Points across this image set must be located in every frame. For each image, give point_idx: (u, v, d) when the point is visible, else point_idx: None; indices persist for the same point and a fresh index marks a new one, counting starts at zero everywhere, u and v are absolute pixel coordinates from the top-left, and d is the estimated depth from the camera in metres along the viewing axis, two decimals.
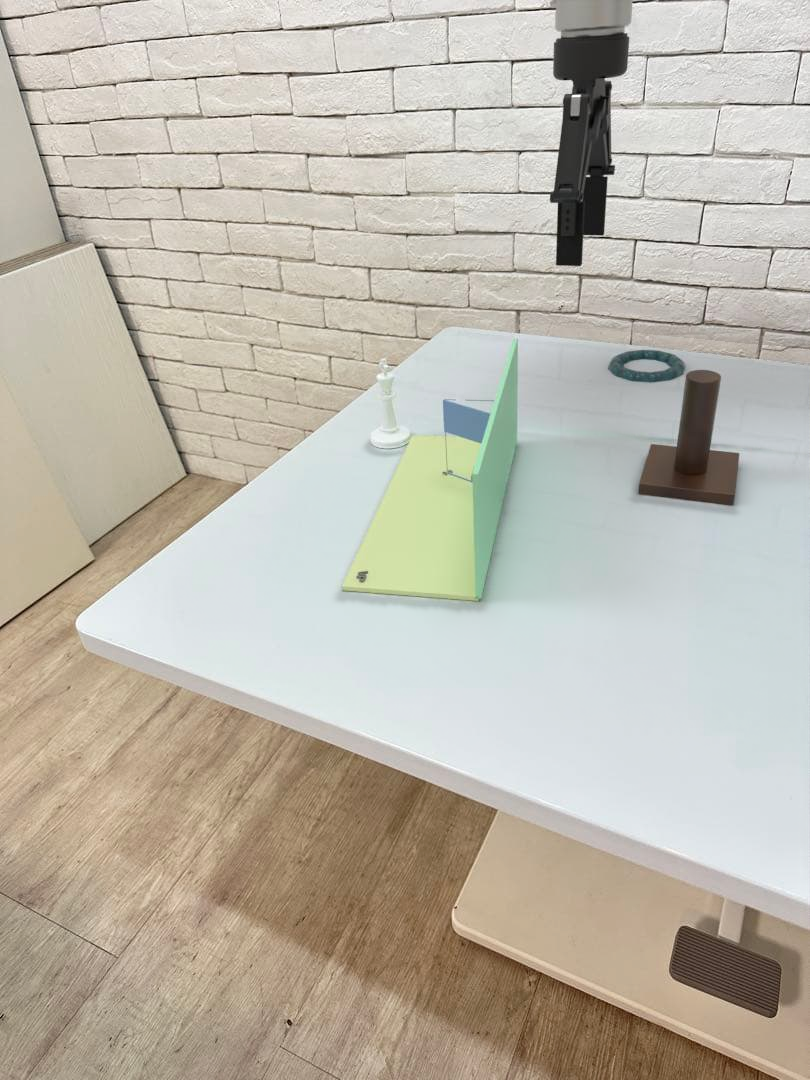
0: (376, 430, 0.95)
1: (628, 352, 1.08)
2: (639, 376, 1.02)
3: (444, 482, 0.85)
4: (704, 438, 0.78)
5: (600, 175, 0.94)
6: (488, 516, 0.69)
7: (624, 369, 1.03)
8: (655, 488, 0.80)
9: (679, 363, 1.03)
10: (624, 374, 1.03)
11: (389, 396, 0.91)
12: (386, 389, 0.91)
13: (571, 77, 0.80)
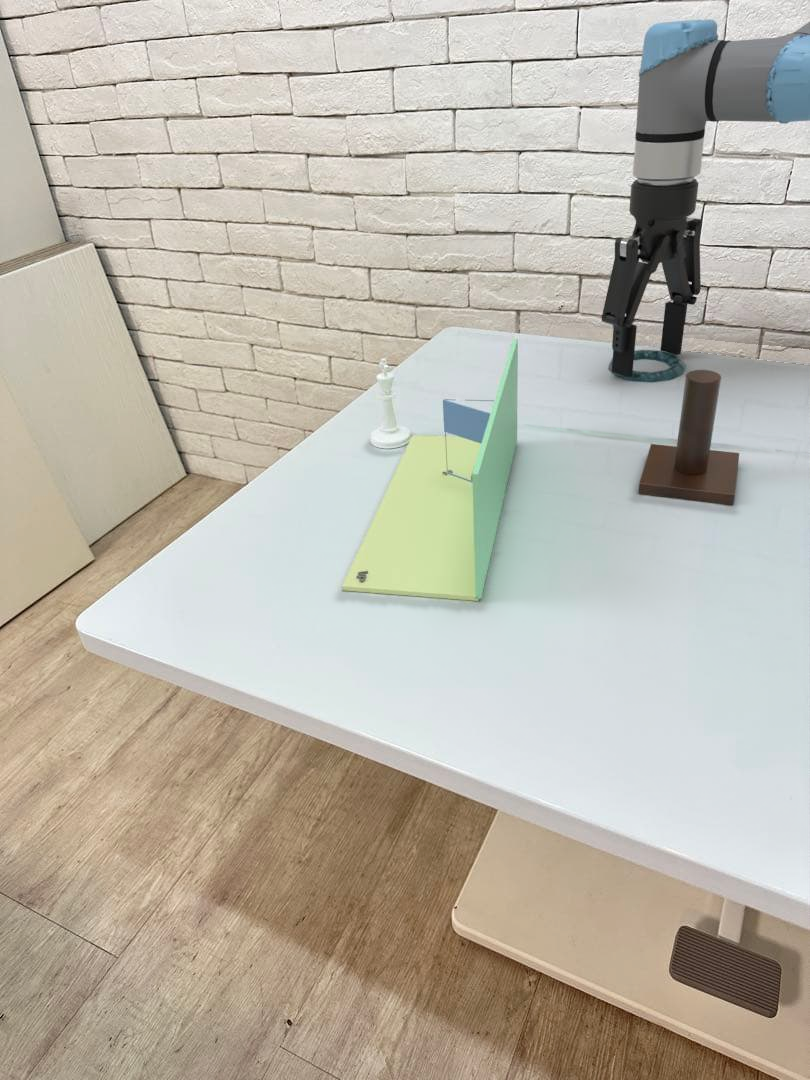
0: (376, 430, 0.95)
1: None
2: (639, 376, 1.02)
3: (444, 482, 0.85)
4: (704, 438, 0.78)
5: (681, 303, 1.04)
6: (488, 516, 0.69)
7: None
8: (655, 488, 0.80)
9: (679, 363, 1.03)
10: None
11: (389, 396, 0.91)
12: (386, 389, 0.91)
13: (634, 215, 0.94)
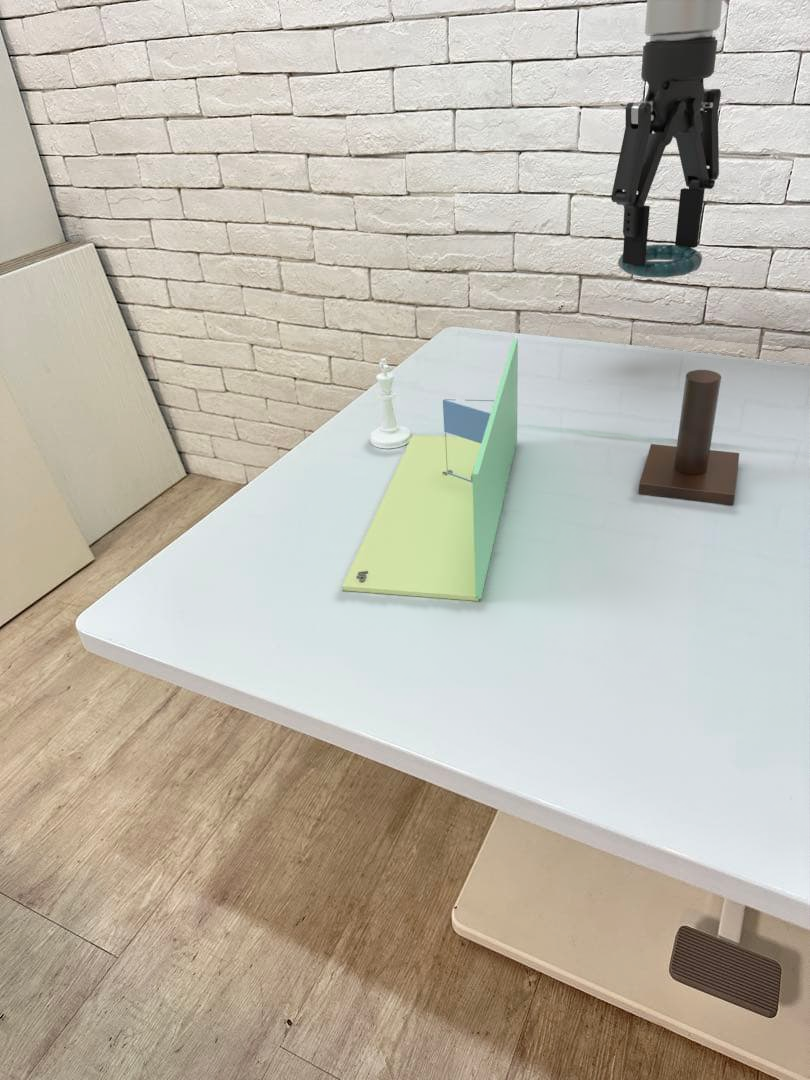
0: (376, 430, 0.95)
1: None
2: (652, 265, 0.93)
3: (444, 482, 0.85)
4: (704, 438, 0.78)
5: (697, 188, 0.95)
6: (488, 516, 0.69)
7: None
8: (655, 488, 0.80)
9: (696, 253, 0.95)
10: None
11: (389, 396, 0.91)
12: (386, 389, 0.91)
13: (647, 79, 0.85)
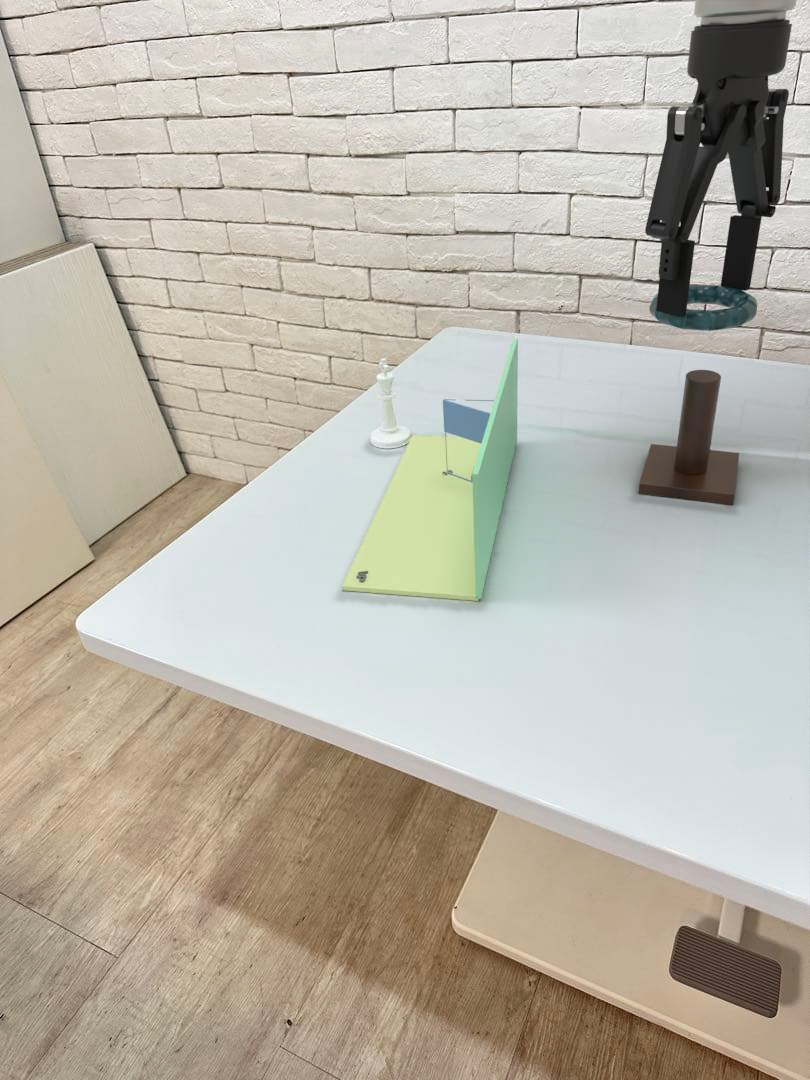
0: (376, 430, 0.95)
1: None
2: (695, 316, 0.73)
3: (444, 482, 0.85)
4: (704, 438, 0.78)
5: (753, 216, 0.74)
6: (488, 516, 0.69)
7: None
8: (655, 488, 0.80)
9: (750, 299, 0.74)
10: None
11: (389, 396, 0.91)
12: (386, 389, 0.91)
13: (696, 75, 0.65)
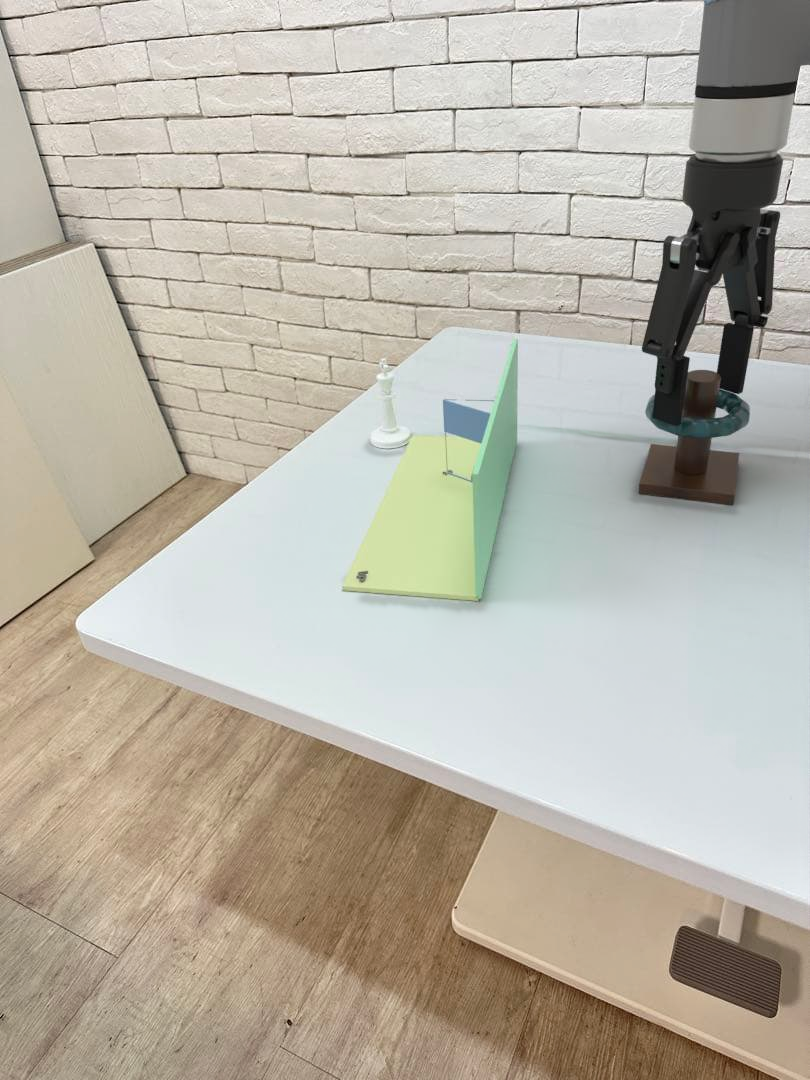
0: (376, 430, 0.95)
1: None
2: (690, 425, 0.75)
3: (444, 482, 0.85)
4: None
5: (745, 325, 0.77)
6: (488, 516, 0.69)
7: None
8: (655, 488, 0.80)
9: (743, 406, 0.77)
10: None
11: (389, 396, 0.91)
12: (386, 389, 0.91)
13: (691, 205, 0.67)
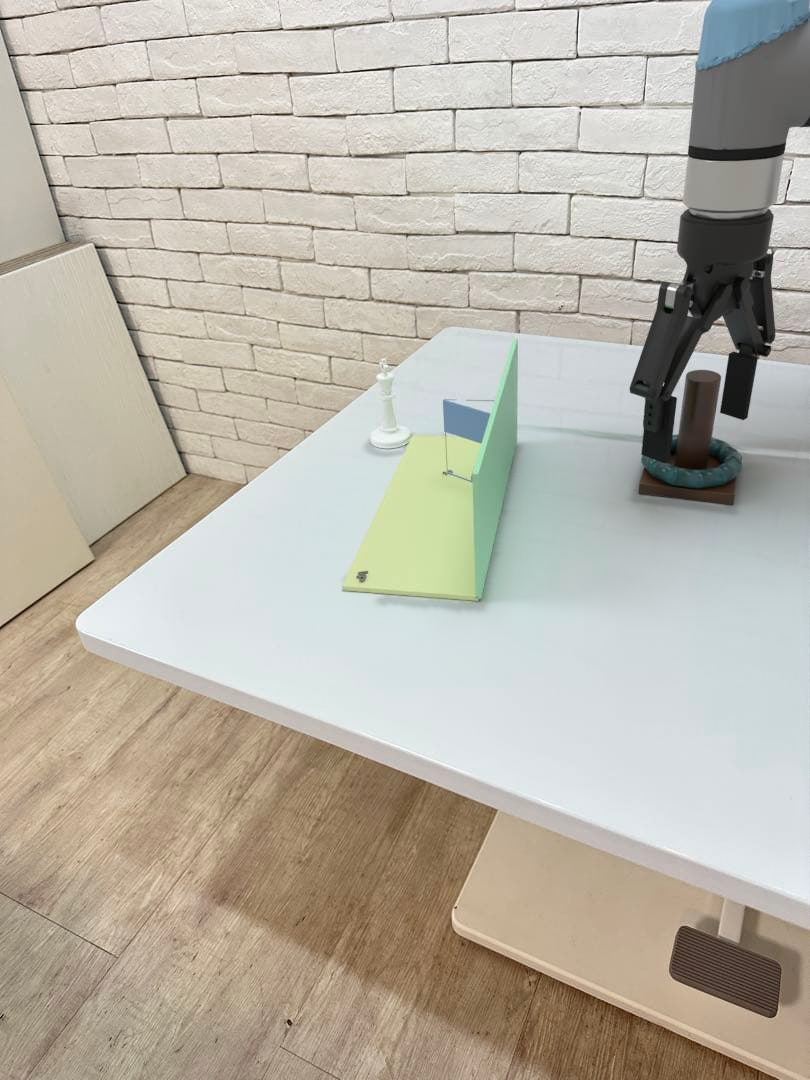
0: (376, 430, 0.95)
1: None
2: (684, 475, 0.78)
3: (444, 482, 0.85)
4: (704, 438, 0.78)
5: (750, 354, 0.79)
6: (488, 516, 0.69)
7: (664, 464, 0.79)
8: (655, 488, 0.80)
9: (735, 456, 0.80)
10: (664, 471, 0.79)
11: (389, 396, 0.91)
12: (386, 389, 0.91)
13: (685, 258, 0.69)
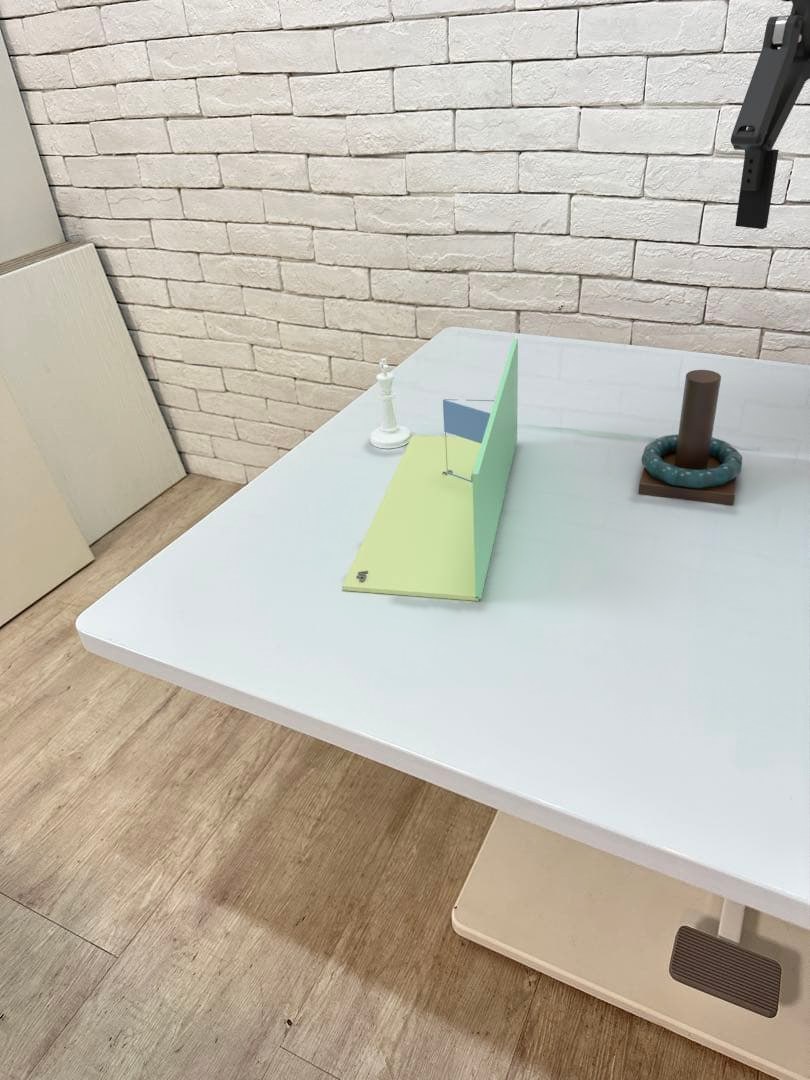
0: (376, 430, 0.95)
1: (667, 437, 0.84)
2: (684, 475, 0.78)
3: (444, 482, 0.85)
4: (704, 438, 0.78)
5: None
6: (488, 516, 0.69)
7: (664, 464, 0.79)
8: (655, 488, 0.80)
9: (735, 456, 0.80)
10: (664, 471, 0.79)
11: (389, 396, 0.91)
12: (386, 389, 0.91)
13: None
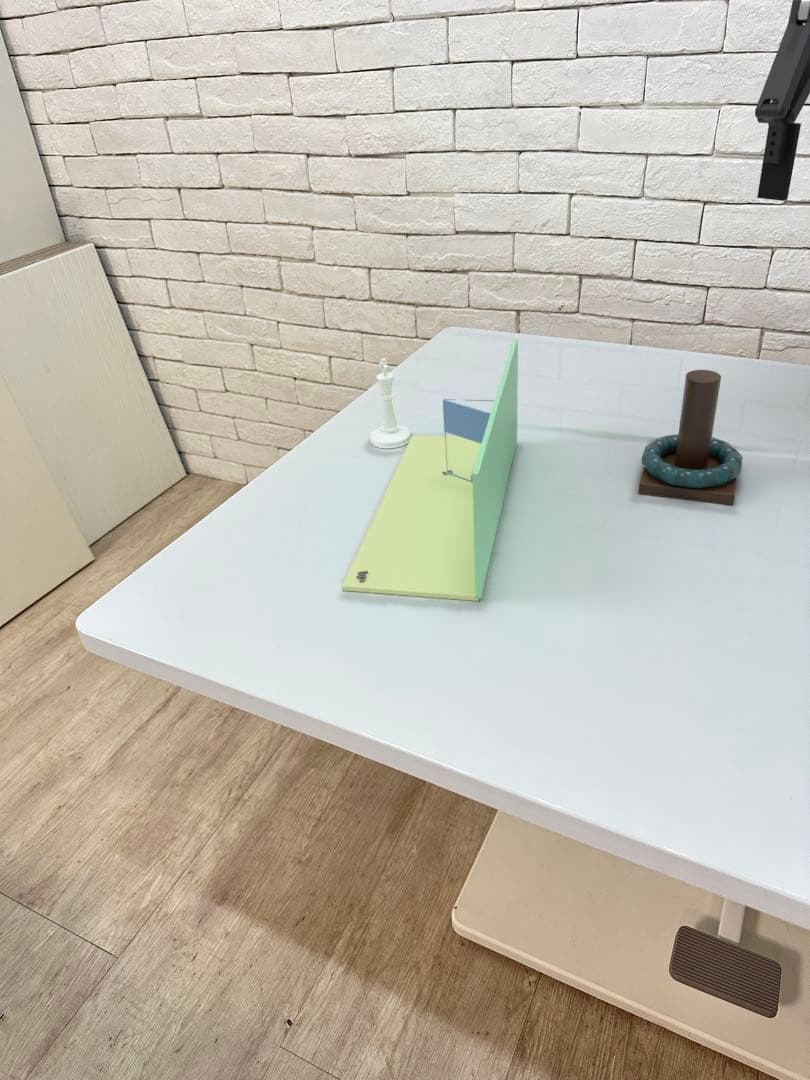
0: (376, 430, 0.95)
1: (667, 437, 0.84)
2: (684, 475, 0.78)
3: (444, 482, 0.85)
4: (704, 438, 0.78)
5: None
6: (488, 516, 0.69)
7: (664, 464, 0.79)
8: (655, 488, 0.80)
9: (735, 456, 0.80)
10: (664, 471, 0.79)
11: (389, 396, 0.91)
12: (386, 389, 0.91)
13: None
